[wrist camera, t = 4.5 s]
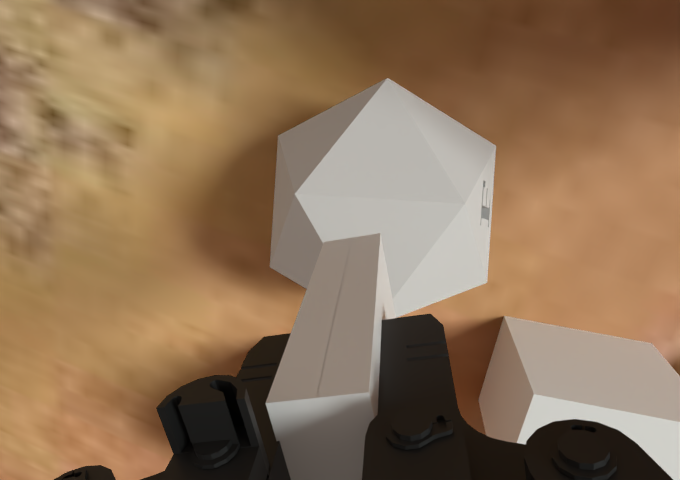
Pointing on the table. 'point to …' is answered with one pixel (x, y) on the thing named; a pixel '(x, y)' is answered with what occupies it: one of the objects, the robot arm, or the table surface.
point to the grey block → (581, 387)
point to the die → (387, 193)
